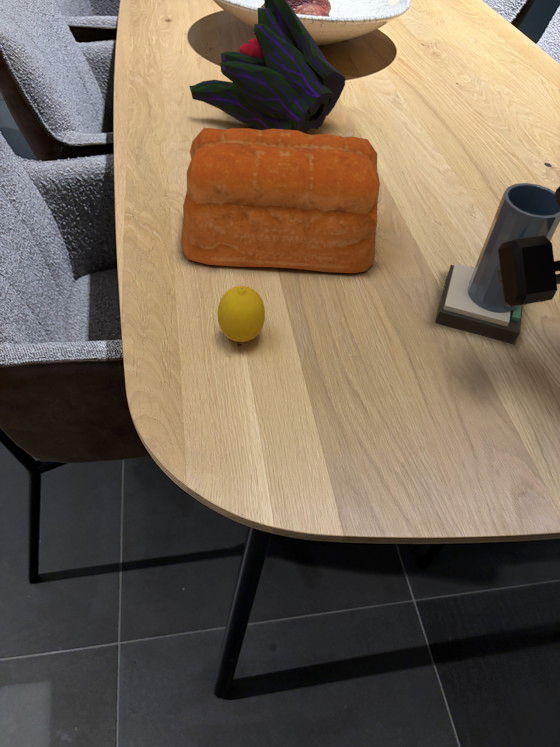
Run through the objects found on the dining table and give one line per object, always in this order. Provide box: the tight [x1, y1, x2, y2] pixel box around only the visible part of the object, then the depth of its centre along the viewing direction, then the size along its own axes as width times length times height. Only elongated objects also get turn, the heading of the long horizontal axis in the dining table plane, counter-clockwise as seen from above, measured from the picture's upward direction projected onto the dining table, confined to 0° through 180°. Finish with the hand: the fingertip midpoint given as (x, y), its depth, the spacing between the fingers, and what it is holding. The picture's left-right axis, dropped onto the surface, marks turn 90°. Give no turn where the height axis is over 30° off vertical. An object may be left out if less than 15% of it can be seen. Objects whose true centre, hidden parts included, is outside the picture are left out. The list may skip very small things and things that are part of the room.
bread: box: [180, 127, 381, 274], centre depth 81 cm, size 14×27×15 cm, turn 89°
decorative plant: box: [188, 0, 346, 134], centre depth 104 cm, size 21×26×30 cm
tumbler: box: [468, 182, 560, 313], centre depth 72 cm, size 7×7×14 cm
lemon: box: [217, 285, 266, 343], centre depth 70 cm, size 6×6×8 cm
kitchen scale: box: [435, 262, 524, 345], centre depth 78 cm, size 10×10×3 cm
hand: (534, 270), depth 68 cm, fingers open, 9 cm apart
